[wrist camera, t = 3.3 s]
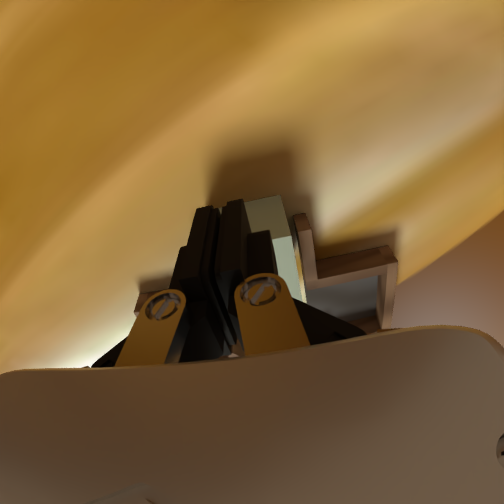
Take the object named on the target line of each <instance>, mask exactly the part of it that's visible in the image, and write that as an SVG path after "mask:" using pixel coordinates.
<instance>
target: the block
mask: <svg viewBox="0 0 504 504" xmlns="http://www.w3.org/2000/svg"><path fill="white" fill-rule="evenodd" d="M244 205H245V208H246V212H247V216H248V220H249V224H250V228H251V232H252V233H253V232H259V231H264V230H270V233H271V237H272V242H273V246H274V251H275V256H276V262H277V268H278V275H279V276H280V277H281V278H283V279H284V281H285V282H286V284H287V286H288V289H289V291H290V294H291V296H292V297H293V298H295V299H297V300H299V301H302V296H301V290H300V284H299V278H298V272H297V266H296V260H295V254H294V249H293V243H292V237H291V233H290V229H289V225H288V222H287V218H286V214H285V211H284V207H283V203H282V199H281V196H280V195H277V196H272V197H267V198H263V199H258V200H253V201H248V202H244ZM219 210H220V213H221V212H222V207H221V208H219Z"/></svg>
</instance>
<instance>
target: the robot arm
mask: <svg viewBox="0 0 504 504" xmlns="http://www.w3.org/2000/svg"><path fill="white" fill-rule="evenodd" d="M237 337H238V339H239V342H240V344H241V347H242V349H243V351H244V352H245V356H238V357H230V358H222V359H218V358H219V357H221V356H226V355H231V351H232V345H236V344H237ZM0 504H504V348H503V346H501V344H500V343H499V342H497V340H495V339H494V338H493V337H491V336H490V335H489V334H487V333H485V332H482V331H480V330H477V329H473V328H468V327H462V326H450V325H430V326H416V327H409V328H394V329H377V333H367V334H366V333H365V332H364V331H363V330H362V329H360V328H359V327H357V326H355V325H352V324H350V323H348V322H346V321H343V320H341V319H339V318H337V317H335V316H332V315H330V314H328V313H326V312H324V311H321V310H319V309H317V308H315V307H313V306H310V305H308V304H306V303H304V302H302V301H299V300H297V299H295V298H293V297H292V296H291V294H290V291H289V289H288V286H287V284H286V282H285V281H284V279H283V278H281V277H280V276H279V275H278V268H277V262H276V256H275V251H274V246H273V242H272V237H271V233H270V230H264V231H259V232H253V233H252V232H251V228H250V224H249V220H248V216H247V212H246V208H245V205H244V201H243V199H239V200H234V201H229V202H227V206H225V207H222V212H221V213H220V210H219V208H215V209H214V208H213V206H212V205H211V206H206V207H201V208H197V209H196V212H195V216H194V220H193V223H192V227H191V231H190V235H189V238H188V242H187V246H183V247H181V248H180V250H179V254H178V257H177V261H176V265H175V268H174V272H173V276H172V279H171V283H170V287H169V290H163V291H161V292H158V293H156V294H154V295H153V296H151V297H150V298H149V299H148V300H147V301H146V302H145V303H144V305H143V306H142V308H141V310H140V312H139V314H138V316H137V318H136V320H135V322H134V325H133V327H132V329H131V331H130V333H129V335H128V336H127V337H126V338H125V339H124V340H122V341H121V342H120V343H118V344H117V345H116V346H115V347H113V348H112V349H111V350H110V351H108V352H107V353H106V354H104V355H103V356H102V357H101V358H99V359H98V360H97V361H96V362H95V363H94V364H93V365H92V366H91V368H90V367H89V366H86V367H82V368H45V369H22V370H14V371H10V372H6V373H3V374H1V375H0Z"/></svg>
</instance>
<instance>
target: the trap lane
mask: <svg viewBox="0 0 504 504" xmlns="http://www.w3.org/2000/svg"><path fill="white" fill-rule="evenodd" d="M293 217H294V223H295V229H296V235H297V241H298V247H299V254H300V260H301V266H302V273H303V279H304V286H305V293H306V300H307V304H308V305H310V306H313V307H315V308H317V309H319V310H321V311H324V312H326V313H328V314H330V315H332V316H335V317H337V318H339V319H341V320H343V321H346V322H348V323H350V324H352V325H355V326H357V327H359V328H360V329H362V330H363V331H364V332H365V333H366V334H367V333H377V329H390V327H391V321H392V313H393V305H394V297H395V289H396V279H397V268H398V261H397V259H396V258H395V256H394V255H393V253H392V251H391V250H390V248H389V247H388V246H384V247H379V248H374V249H370V250H365V251H360V252H356V253H351V254H346V255H341V256H336V257H332V258H327V259H322V260H317V261H315V254H314V246H313V238H312V231H311V227H310V224H309V222H308V219H307V216H306V214H305V213H303V214H298V215H293ZM166 290H169V289H166ZM161 291H163V290H161ZM161 291H155V292H150V293H144V294H139V297H138V300H137V303H136V307H135V310H134V314H135V315H136V317H137V316H138V314H139V312H140V310H141V308H142V306H143V305H144V303H145V302H146V301H147V300H148V299H149V298H150V297H151V296H153V295H154V294H156V293H158V292H161ZM238 356H245V352H244V351H243V349H242V347H241V344H240V342H239V339H238V337H237V344H236V345H232V351H231V355H226V356H221V357H219V358H218V359H222V358H230V357H238Z"/></svg>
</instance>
